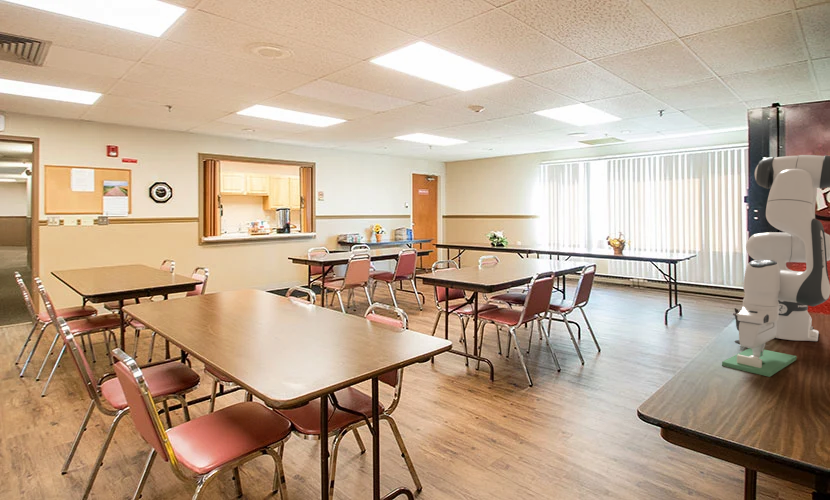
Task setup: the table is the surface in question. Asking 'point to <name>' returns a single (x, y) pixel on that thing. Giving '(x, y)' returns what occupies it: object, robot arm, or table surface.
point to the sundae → (737, 321)
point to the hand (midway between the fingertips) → (757, 356)
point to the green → (760, 362)
